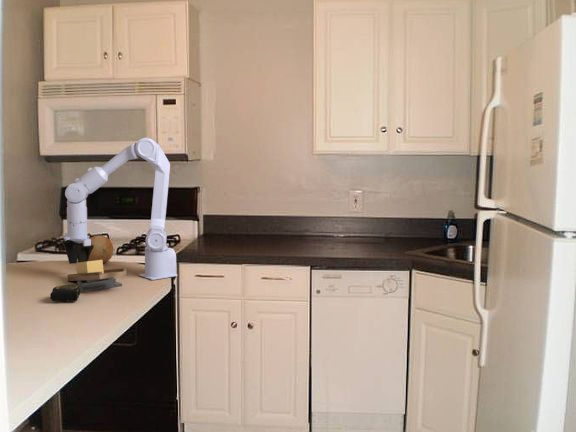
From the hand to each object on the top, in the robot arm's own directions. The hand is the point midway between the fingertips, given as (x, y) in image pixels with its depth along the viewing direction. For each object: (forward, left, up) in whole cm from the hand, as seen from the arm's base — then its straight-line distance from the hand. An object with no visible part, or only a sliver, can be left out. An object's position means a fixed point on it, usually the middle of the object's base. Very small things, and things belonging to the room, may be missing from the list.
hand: (77, 265), depth 165 cm
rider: (0, +9, -1) cm, 9 cm away
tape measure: (+13, +22, -4) cm, 26 cm away
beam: (0, +13, -2) cm, 13 cm away
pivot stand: (0, +13, -4) cm, 13 cm away
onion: (-14, -15, -4) cm, 21 cm away
